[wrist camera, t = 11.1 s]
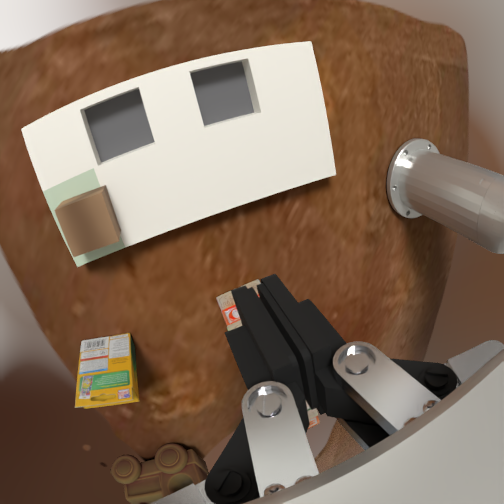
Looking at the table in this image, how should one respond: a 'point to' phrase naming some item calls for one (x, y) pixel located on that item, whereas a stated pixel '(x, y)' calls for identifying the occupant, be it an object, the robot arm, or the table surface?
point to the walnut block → (88, 221)
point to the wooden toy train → (159, 473)
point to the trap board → (188, 140)
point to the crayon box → (107, 372)
